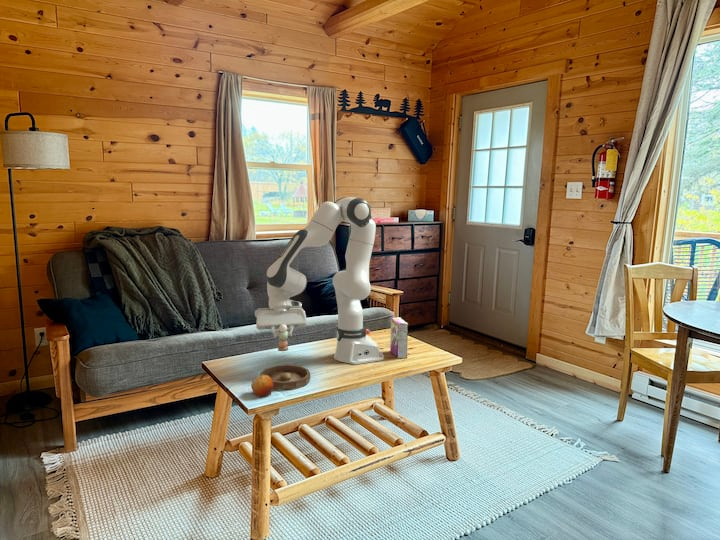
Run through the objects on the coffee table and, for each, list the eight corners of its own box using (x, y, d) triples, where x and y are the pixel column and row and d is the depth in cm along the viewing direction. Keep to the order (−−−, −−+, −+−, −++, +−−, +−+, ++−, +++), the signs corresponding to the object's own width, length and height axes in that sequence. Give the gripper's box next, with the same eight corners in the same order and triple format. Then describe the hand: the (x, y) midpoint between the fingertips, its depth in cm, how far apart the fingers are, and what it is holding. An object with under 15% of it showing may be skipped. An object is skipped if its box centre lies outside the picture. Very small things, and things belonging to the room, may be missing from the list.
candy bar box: (389, 351, 235) (390, 317, 232) (399, 350, 236) (400, 317, 233) (396, 359, 224) (398, 323, 221) (407, 358, 225) (408, 323, 222)
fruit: (280, 393, 180) (268, 376, 178) (261, 405, 179) (249, 388, 177) (277, 384, 188) (266, 368, 186) (259, 396, 187) (247, 380, 184)
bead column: (287, 347, 202) (287, 322, 200) (288, 350, 198) (288, 325, 196) (277, 348, 200) (277, 323, 199) (278, 351, 197) (278, 325, 195)
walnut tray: (304, 370, 208) (304, 363, 207) (313, 387, 190) (314, 379, 189) (258, 374, 202) (258, 367, 202) (263, 392, 184) (263, 384, 184)
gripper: (254, 304, 200) (257, 334, 192) (305, 302, 206) (309, 331, 198) (253, 312, 205) (256, 342, 197) (302, 310, 211) (307, 339, 203)
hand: (283, 337), depth 198 cm, fingers closed on bead column, 4 cm apart
